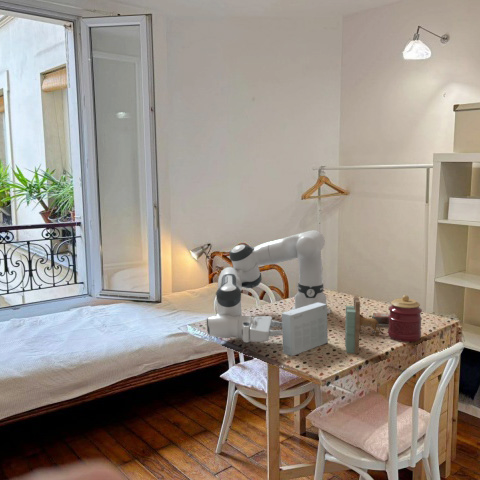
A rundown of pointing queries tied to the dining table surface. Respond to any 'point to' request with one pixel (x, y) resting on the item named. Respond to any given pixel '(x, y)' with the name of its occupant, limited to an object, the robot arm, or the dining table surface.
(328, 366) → the dining table surface
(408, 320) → the canister
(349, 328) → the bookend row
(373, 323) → the lion figurine
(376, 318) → the packaged product
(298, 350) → the skincare box
